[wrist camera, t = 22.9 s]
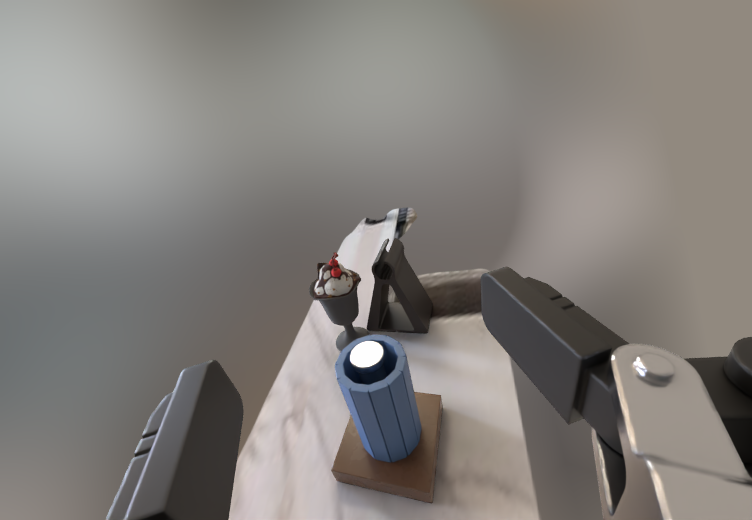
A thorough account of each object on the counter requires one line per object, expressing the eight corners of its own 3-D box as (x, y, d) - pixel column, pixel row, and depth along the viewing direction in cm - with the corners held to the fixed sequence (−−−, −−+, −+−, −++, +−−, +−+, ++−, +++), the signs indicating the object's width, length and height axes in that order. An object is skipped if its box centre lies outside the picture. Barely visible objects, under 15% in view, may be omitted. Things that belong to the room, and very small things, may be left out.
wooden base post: (336, 481, 29) (291, 396, 23) (364, 396, 36) (336, 313, 30) (432, 503, 26) (411, 413, 20) (442, 406, 33) (429, 317, 27)
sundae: (374, 356, 41) (346, 261, 34) (326, 359, 42) (289, 268, 35) (377, 321, 47) (355, 234, 39) (335, 325, 48) (305, 241, 41)
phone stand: (433, 305, 48) (424, 236, 42) (428, 333, 43) (416, 260, 37) (377, 304, 51) (361, 239, 45) (367, 330, 46) (347, 262, 40)
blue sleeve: (354, 455, 29) (324, 387, 24) (371, 399, 34) (349, 332, 29) (415, 468, 27) (396, 396, 22) (424, 407, 32) (411, 336, 27)
